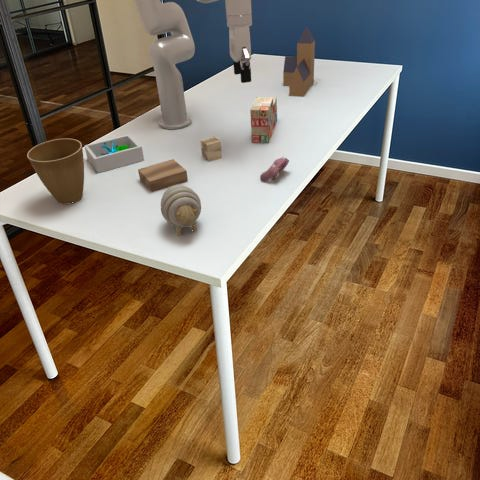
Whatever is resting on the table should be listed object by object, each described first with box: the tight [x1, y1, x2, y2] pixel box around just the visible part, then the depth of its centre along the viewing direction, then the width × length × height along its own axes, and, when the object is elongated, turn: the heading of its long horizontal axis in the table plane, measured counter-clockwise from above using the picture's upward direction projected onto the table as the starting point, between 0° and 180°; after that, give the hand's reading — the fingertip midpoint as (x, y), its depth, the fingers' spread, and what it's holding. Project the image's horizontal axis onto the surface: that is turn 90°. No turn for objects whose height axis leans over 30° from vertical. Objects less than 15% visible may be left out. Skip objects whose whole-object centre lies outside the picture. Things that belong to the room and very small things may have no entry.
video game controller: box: [259, 156, 290, 182], centre depth 147 cm, size 10×5×7 cm, turn 148°
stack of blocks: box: [250, 96, 278, 144], centre depth 175 cm, size 21×6×12 cm, turn 169°
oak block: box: [200, 136, 223, 162], centre depth 161 cm, size 5×5×6 cm
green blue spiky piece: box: [101, 141, 130, 155], centre depth 165 cm, size 12×7×8 cm
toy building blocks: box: [282, 26, 316, 98], centre depth 209 cm, size 12×19×25 cm
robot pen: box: [83, 134, 145, 174], centre depth 164 cm, size 13×16×5 cm
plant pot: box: [26, 137, 85, 205], centre depth 140 cm, size 15×15×16 cm
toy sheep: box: [160, 184, 202, 236], centre depth 126 cm, size 11×17×11 cm, turn 24°
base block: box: [137, 158, 189, 193], centre depth 150 cm, size 10×12×4 cm
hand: (242, 77), depth 155 cm, fingers open, 9 cm apart
